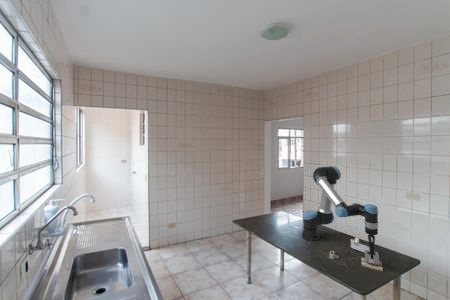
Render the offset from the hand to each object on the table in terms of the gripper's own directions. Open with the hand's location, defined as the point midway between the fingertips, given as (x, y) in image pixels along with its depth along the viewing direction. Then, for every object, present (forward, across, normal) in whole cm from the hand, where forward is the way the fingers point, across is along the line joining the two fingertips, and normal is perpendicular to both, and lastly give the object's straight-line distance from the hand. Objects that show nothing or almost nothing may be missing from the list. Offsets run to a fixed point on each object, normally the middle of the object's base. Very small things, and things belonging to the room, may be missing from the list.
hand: (371, 260), depth 163 cm
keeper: (+3, 0, 0) cm, 3 cm away
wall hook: (+3, 0, -22) cm, 22 cm away
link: (0, 0, 0) cm, 0 cm away
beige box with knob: (+3, 0, -25) cm, 25 cm away
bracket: (+4, -21, -6) cm, 22 cm away
